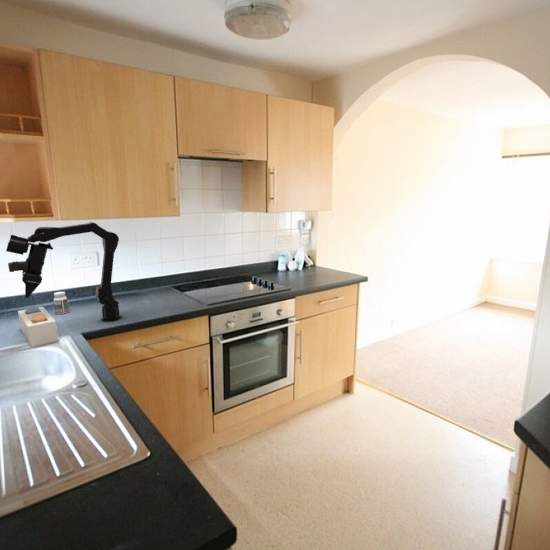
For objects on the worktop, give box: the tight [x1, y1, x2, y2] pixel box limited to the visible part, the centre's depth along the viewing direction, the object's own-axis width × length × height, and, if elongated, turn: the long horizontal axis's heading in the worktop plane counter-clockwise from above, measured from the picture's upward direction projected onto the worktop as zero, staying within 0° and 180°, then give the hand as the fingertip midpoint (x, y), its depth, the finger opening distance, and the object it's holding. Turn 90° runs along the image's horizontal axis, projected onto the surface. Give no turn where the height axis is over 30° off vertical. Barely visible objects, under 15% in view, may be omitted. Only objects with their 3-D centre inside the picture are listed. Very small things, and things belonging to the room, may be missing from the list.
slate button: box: [25, 305, 39, 314], centre depth 154 cm, size 4×4×2 cm
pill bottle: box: [53, 291, 70, 315], centre depth 178 cm, size 6×6×10 cm
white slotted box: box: [17, 306, 59, 348], centre depth 149 cm, size 26×9×8 cm, turn 41°
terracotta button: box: [32, 314, 46, 323], centre depth 143 cm, size 4×4×2 cm
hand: (26, 295), depth 149 cm, fingers open, 9 cm apart
